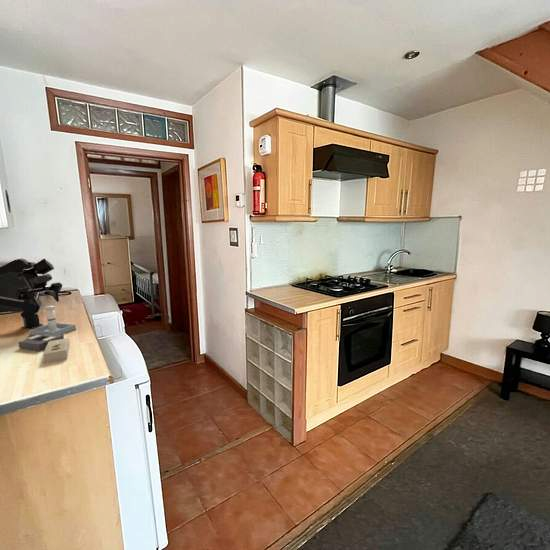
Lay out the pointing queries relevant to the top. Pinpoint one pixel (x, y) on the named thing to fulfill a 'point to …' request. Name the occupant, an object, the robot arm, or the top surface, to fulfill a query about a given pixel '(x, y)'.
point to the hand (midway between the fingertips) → (48, 303)
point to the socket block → (39, 341)
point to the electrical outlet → (56, 350)
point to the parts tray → (61, 330)
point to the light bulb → (51, 318)
